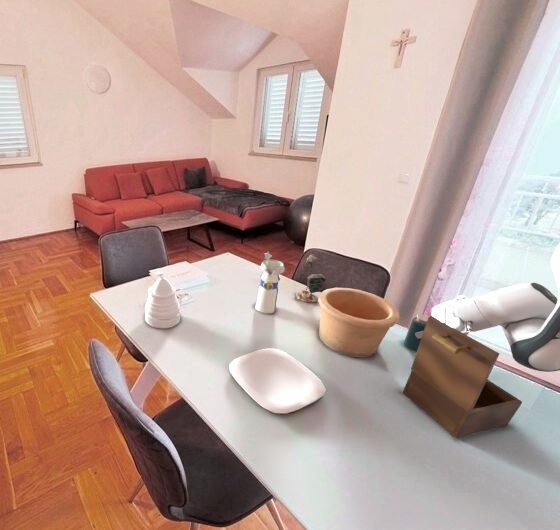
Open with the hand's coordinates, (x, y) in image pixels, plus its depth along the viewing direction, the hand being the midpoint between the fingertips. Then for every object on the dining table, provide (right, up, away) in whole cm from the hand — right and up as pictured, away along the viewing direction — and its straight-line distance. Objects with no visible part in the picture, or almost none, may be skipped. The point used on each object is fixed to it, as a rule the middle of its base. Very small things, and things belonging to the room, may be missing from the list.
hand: (416, 330), depth 99 cm
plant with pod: (-20, +7, +30) cm, 37 cm away
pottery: (-20, -5, +5) cm, 21 cm away
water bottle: (-40, +4, +23) cm, 47 cm away
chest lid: (-16, -1, -28) cm, 32 cm away
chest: (-8, -16, -20) cm, 26 cm away
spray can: (0, -6, +2) cm, 6 cm away
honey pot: (-81, +1, +17) cm, 83 cm away
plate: (-50, -12, -11) cm, 52 cm away
